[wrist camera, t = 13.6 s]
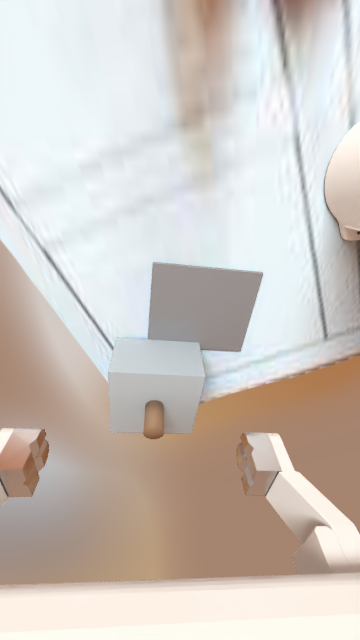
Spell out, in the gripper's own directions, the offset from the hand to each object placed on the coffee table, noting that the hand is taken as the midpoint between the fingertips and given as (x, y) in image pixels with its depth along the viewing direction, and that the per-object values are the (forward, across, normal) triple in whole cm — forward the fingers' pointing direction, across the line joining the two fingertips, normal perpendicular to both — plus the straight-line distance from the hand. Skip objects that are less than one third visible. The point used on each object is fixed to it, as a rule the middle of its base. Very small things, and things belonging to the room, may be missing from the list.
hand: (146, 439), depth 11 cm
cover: (+33, -1, +26) cm, 41 cm away
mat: (+33, -8, +12) cm, 36 cm away
